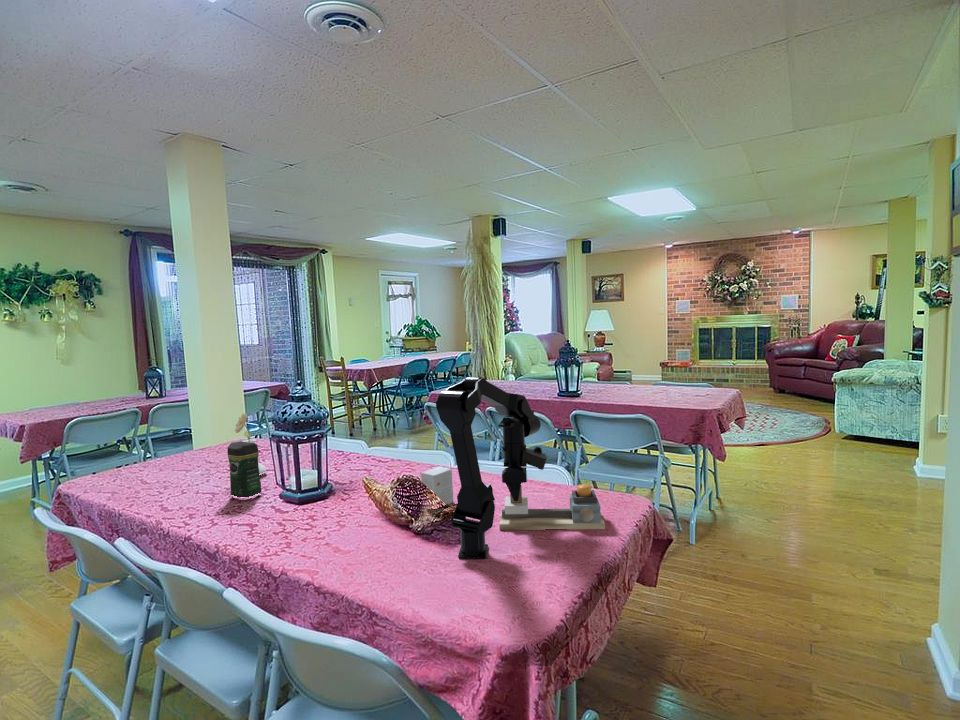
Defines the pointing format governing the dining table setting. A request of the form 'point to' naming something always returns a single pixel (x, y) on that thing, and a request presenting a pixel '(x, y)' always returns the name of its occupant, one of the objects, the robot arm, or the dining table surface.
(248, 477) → the coffee jar
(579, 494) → the button
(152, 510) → the dining table surface
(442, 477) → the small box
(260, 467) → the flower in vase
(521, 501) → the carriage
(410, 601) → the dining table surface
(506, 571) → the dining table surface
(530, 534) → the dining table surface
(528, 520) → the rail base
